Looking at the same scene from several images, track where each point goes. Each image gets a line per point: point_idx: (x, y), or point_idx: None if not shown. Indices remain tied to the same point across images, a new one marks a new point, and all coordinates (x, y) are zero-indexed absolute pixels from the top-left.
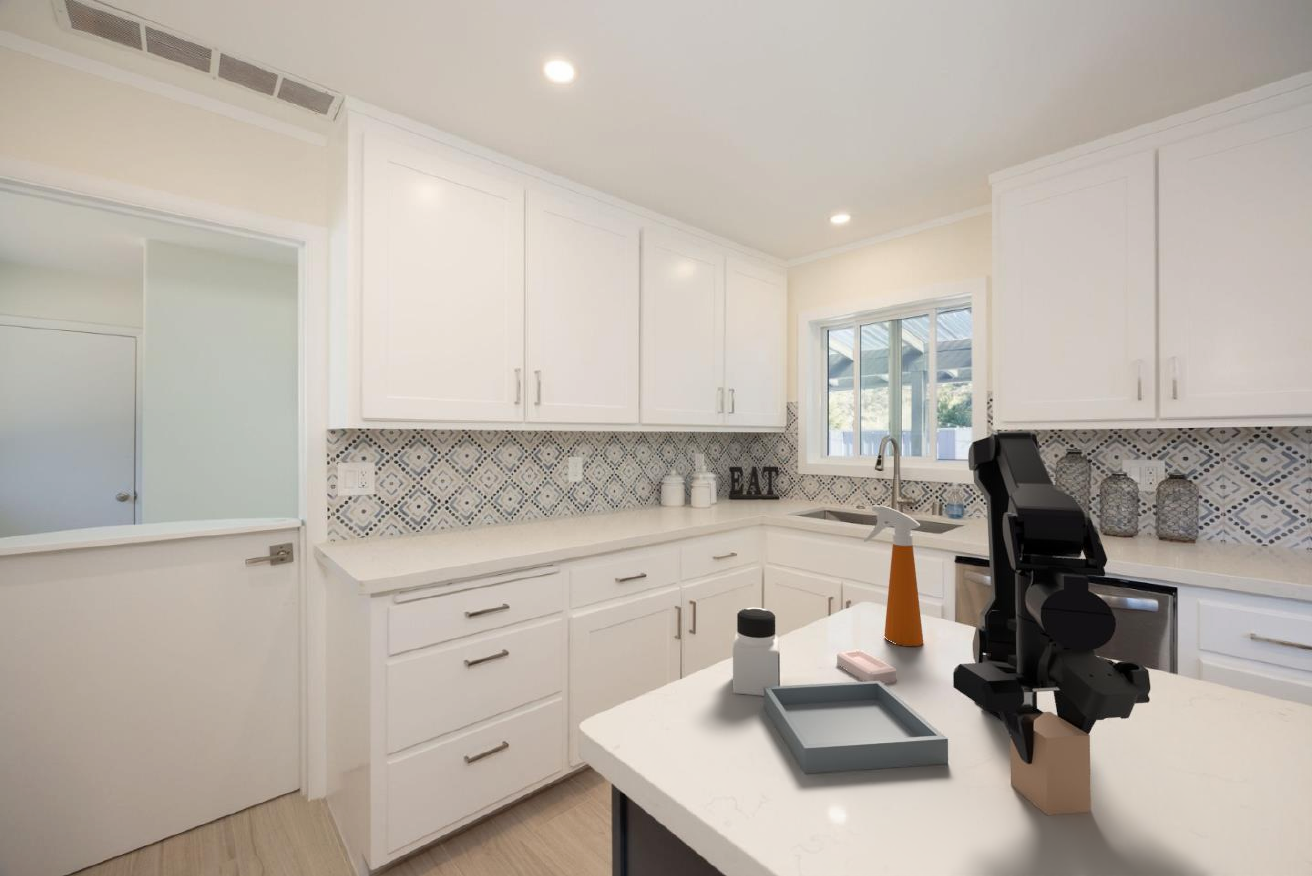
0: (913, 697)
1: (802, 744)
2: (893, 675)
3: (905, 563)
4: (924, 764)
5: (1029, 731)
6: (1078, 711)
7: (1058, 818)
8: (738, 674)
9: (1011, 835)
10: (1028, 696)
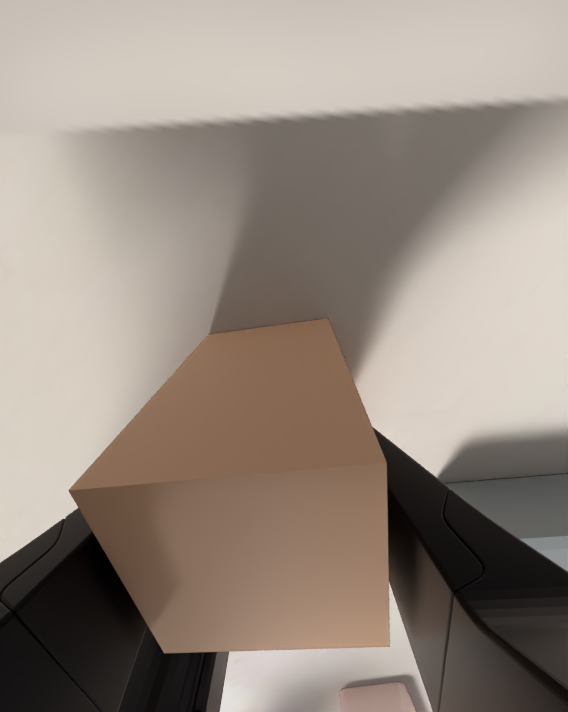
0: (343, 653)
1: None
2: (351, 706)
3: None
4: (495, 481)
5: (446, 524)
6: (7, 689)
7: (307, 307)
8: None
9: (487, 235)
10: None
